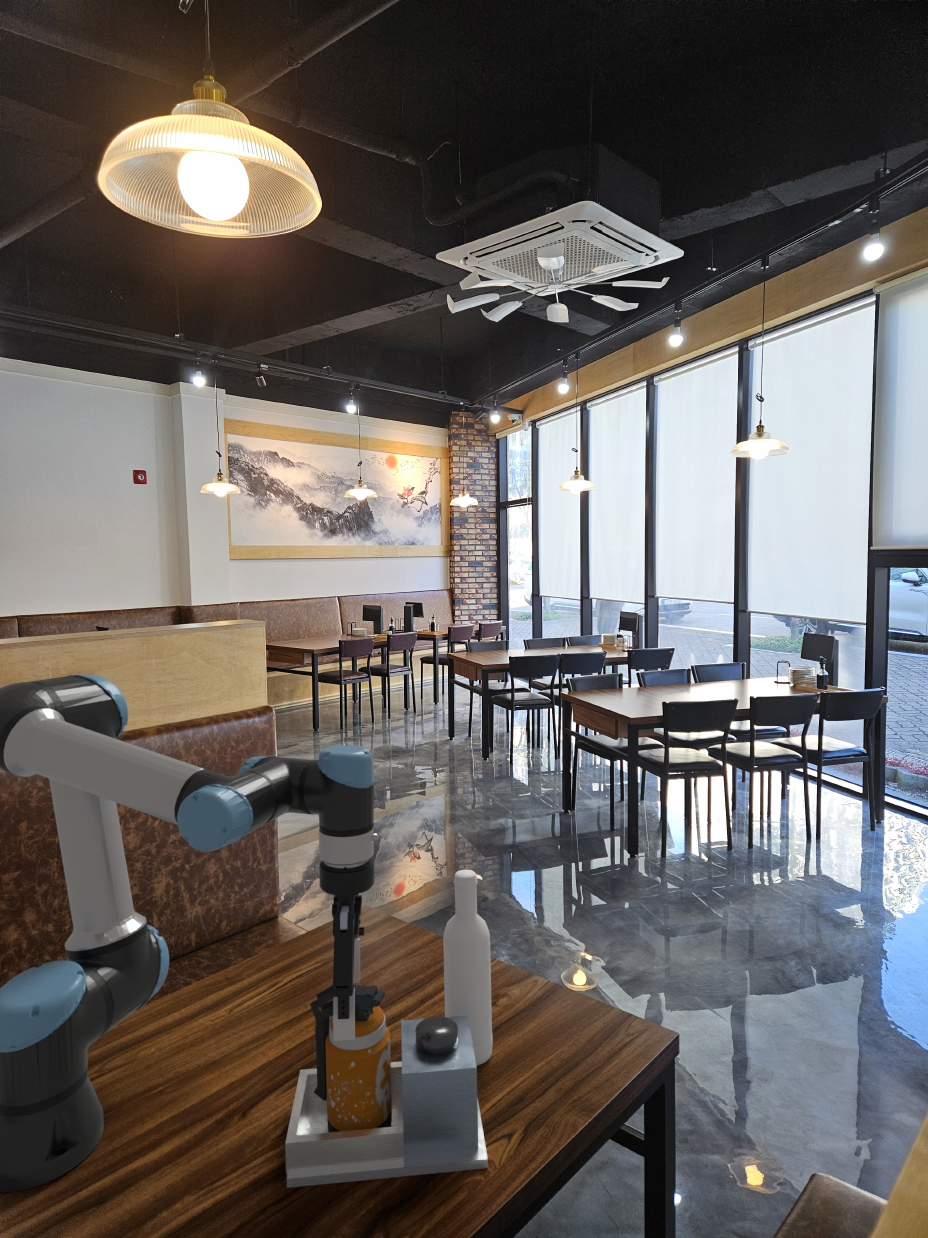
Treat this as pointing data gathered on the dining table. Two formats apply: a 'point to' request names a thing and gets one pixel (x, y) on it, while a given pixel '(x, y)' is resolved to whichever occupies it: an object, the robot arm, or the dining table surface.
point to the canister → (354, 1064)
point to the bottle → (469, 966)
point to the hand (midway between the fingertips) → (347, 1008)
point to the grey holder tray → (398, 1115)
